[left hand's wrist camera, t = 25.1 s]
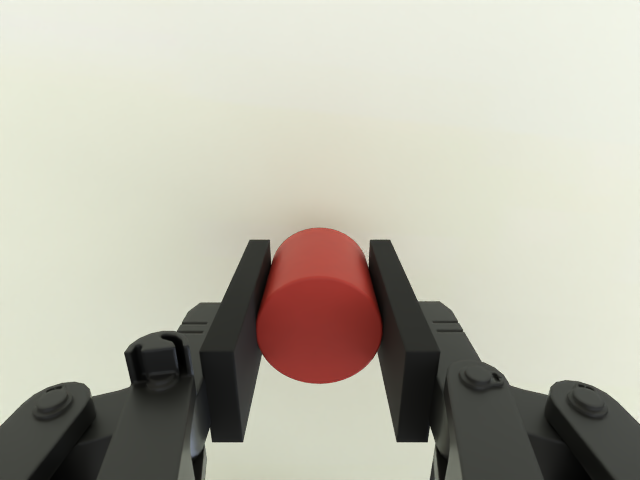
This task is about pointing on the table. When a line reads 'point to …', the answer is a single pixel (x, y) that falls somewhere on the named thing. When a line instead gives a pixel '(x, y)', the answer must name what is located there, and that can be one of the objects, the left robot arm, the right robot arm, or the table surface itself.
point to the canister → (319, 308)
